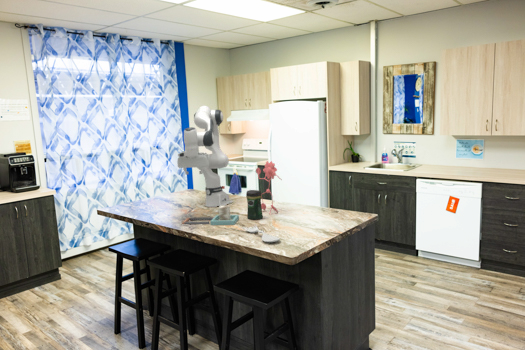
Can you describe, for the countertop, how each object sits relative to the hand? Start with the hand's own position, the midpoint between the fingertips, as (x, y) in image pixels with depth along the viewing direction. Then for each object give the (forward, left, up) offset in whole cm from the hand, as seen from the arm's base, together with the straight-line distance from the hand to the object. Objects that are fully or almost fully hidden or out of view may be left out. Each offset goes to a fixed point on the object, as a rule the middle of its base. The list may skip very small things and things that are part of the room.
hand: (194, 174), depth 266 cm
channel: (+5, +6, -30) cm, 31 cm away
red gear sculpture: (-40, +32, -30) cm, 60 cm away
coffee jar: (-20, +33, -30) cm, 49 cm away
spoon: (+9, +62, -31) cm, 70 cm away
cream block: (-4, +21, -30) cm, 37 cm away
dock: (-4, +21, -30) cm, 37 cm away
